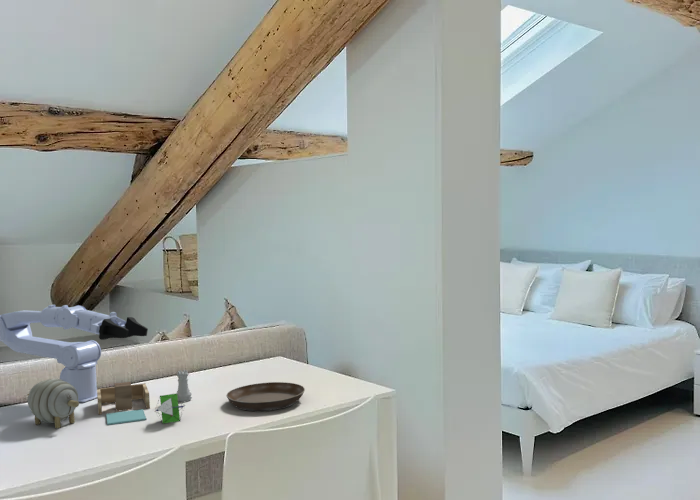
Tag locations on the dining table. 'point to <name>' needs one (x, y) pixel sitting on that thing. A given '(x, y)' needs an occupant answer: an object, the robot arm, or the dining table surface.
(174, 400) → the geometric puzzle
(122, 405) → the walnut block
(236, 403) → the plant saucer
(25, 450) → the dining table surface
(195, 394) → the dining table surface
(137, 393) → the oak open-side box
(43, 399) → the toy sheep
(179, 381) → the rook chess piece
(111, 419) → the teal mat
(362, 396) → the dining table surface
